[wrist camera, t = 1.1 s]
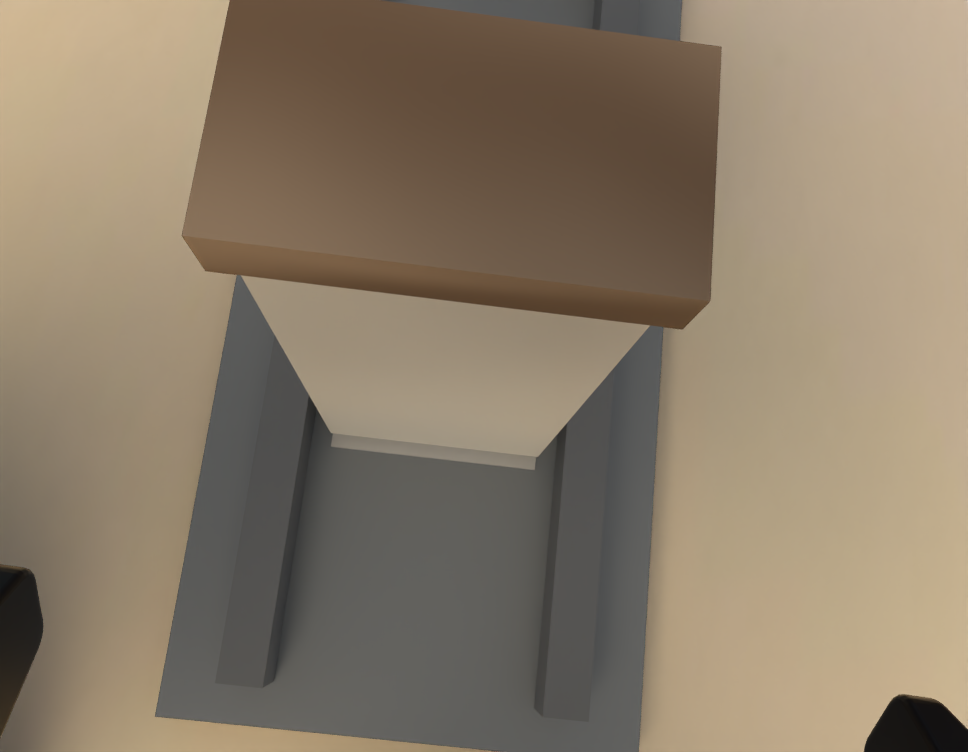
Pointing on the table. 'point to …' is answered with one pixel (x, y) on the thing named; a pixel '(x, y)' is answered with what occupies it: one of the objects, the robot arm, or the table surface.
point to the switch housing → (422, 548)
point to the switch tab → (455, 207)
